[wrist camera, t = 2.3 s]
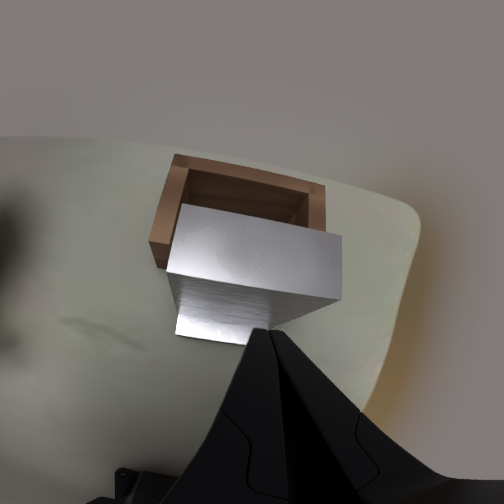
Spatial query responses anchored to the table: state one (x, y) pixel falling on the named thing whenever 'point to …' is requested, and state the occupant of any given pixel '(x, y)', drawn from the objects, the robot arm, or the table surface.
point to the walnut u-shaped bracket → (233, 198)
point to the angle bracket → (248, 273)
